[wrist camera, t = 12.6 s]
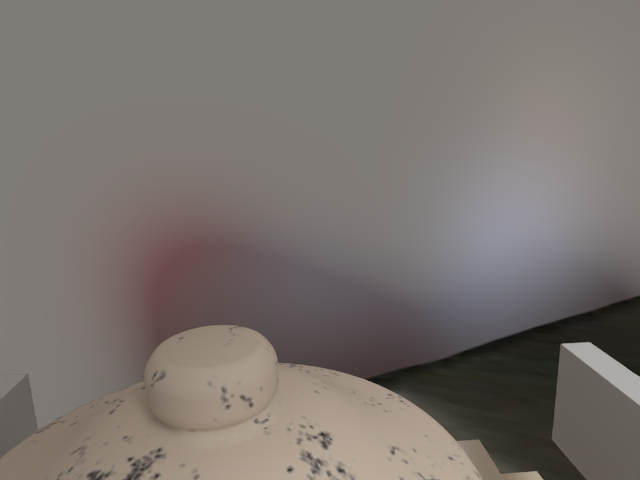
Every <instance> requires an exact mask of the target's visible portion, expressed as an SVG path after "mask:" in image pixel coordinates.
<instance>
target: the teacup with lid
mask: <svg viewBox="0 0 640 480" xmlns="http://www.w3.org/2000/svg"><path fill="white" fill-rule="evenodd" d="M0 480H483V479H482V478H481V476H480V474H479V472H478V471H477V469H476V468H475V466H474V465H473V463H472V462H471V460H470V459H469V457H468V456H467V454H466V453H465V451H464V450H463V449H462V448H461V446H460V445H459V444H458V443H457V442H456V441H455V439H454V438H453V437H452V436H451V435H450V434H449V433H448V432H447V431H446V430H445V429H444V428H443V427H442V426H441V425H440V424H439V423H438V422H437V421H435V420H434V419H433V418H432V417H431V416H429V415H428V414H427V413H426V412H424V411H423V410H422V409H420V408H419V407H417V406H416V405H414V404H413V403H411V402H410V401H408V400H407V399H405V398H403V397H401V396H400V395H398V394H396V393H394V392H392V391H390V390H388V389H386V388H384V387H382V386H379V385H377V384H375V383H372V382H369V381H367V380H364V379H362V378H358V377H355V376H352V375H349V374H346V373H342V372H338V371H334V370H330V369H324V368H320V367H313V366H307V365H298V364H288V363H278V361H277V356H276V353H275V350H274V348H273V347H272V345H271V344H270V343H269V342H268V340H267V339H266V338H265V337H264V336H263V335H261V334H260V333H258V332H256V331H254V330H252V329H249V328H245V327H240V326H232V325H214V326H205V327H199V328H195V329H191V330H188V331H184V332H182V333H179V334H177V335H174V336H172V337H170V338H169V339H167V340H166V341H164V342H162V343H161V344H160V345H159V346H158V347H157V348H156V349H155V351H154V352H153V354H152V355H151V357H150V358H149V360H148V362H147V364H146V367H145V371H144V381H143V382H140V383H137V384H134V385H131V386H129V387H126V388H123V389H120V390H117V391H115V392H112V393H110V394H108V395H105V396H103V397H100V398H98V399H96V400H94V401H92V402H89V403H88V404H85V405H83V406H81V407H79V408H77V409H75V410H73V411H72V412H69V413H68V414H66V415H64V416H62V417H60V418H58V419H57V420H55V421H54V422H52V423H50V424H48V425H47V426H45V427H43V428H42V429H40V430H39V431H37V432H36V433H34V434H33V435H31V436H30V437H28V438H27V439H25V440H24V441H22V442H21V443H20V444H18V445H17V446H16V447H14V448H13V449H12V450H10V451H9V452H8V453H6V454H5V455H4V456H2V457H1V458H0Z"/></svg>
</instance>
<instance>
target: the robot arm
mask: <svg viewBox="0 0 640 480" xmlns="http://www.w3.org/2000/svg"><path fill="white" fill-rule="evenodd" d="M37 431H38V429H37V423H36V417H35V412H34V406H33V401H32V395H31V389H30V384H29V378H28V374H14V375H0V458H1V457H2V456H4V455H5V454H6V453H8V452H9V451H10V450H12V449H13V448H14V447H16V446H17V445H18V444H20V443H21V442H22V441H24V440H25V439H27V438H28V437H30V436H31V435H33V434H34V433H36V432H37ZM552 440H553V441H554V442H555V443H556V445H557V446H558V447H559V448H560V449H561V450H562V452H563V453H564V454H565V455H566V456H567V457H568V459H569V460H570V461H571V462H572V463H573V464H574V466H575V467H576V468H577V469H578V470H579V471H580V473H581V474H582V475H583V476H584V477H585V478H586V480H640V377H639V376H637V375H636V374H634V373H633V372H631V371H630V370H629V369H627V368H626V367H624V366H623V365H621V364H620V363H619V362H617V361H616V360H614V359H613V358H611V357H610V356H609V355H607V354H606V353H604V352H603V351H601V350H600V349H599V348H597V347H596V346H594V345H593V344H591V343H590V342H586V343H569V344H561V348H560V359H559V369H558V380H557V391H556V402H555V412H554V423H553V434H552Z"/></svg>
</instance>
